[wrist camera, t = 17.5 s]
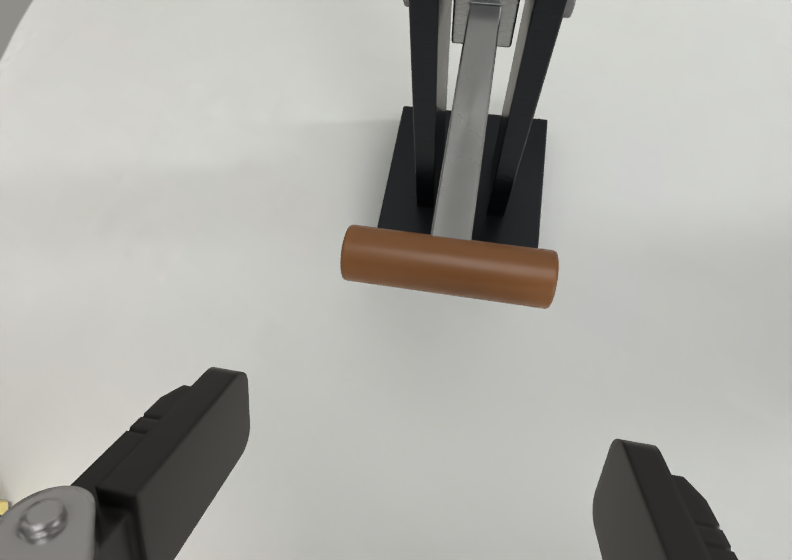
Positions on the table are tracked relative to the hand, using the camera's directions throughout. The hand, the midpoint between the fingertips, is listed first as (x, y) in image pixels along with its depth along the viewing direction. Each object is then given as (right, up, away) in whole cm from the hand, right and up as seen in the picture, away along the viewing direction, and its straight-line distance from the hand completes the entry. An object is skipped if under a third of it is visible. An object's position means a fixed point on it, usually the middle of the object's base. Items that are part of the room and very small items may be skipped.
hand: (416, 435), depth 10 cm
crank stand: (+4, +9, +19) cm, 21 cm away
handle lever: (+2, +9, +6) cm, 11 cm away
